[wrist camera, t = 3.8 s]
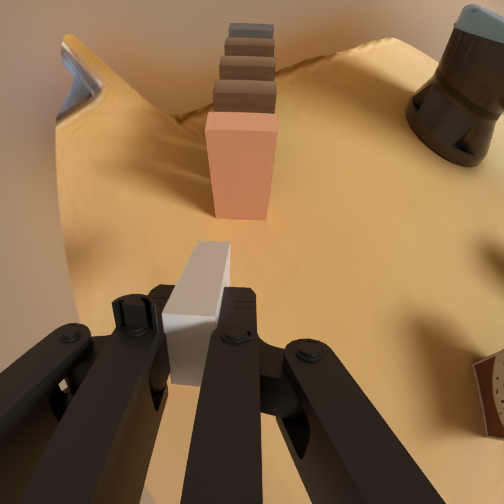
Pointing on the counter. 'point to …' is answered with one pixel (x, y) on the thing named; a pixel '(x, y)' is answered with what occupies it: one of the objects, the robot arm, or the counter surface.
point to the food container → (491, 393)
